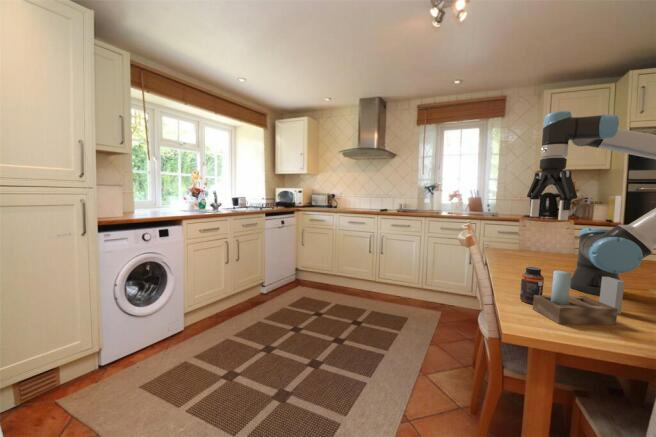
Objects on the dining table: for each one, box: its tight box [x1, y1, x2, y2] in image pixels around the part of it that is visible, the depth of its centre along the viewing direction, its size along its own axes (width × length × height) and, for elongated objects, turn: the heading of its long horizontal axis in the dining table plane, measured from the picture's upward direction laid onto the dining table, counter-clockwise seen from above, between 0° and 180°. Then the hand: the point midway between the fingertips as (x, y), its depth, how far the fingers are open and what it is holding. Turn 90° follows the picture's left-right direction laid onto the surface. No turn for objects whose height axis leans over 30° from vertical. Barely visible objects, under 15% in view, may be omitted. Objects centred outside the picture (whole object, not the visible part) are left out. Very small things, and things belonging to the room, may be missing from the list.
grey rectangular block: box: [598, 277, 625, 315], centre depth 91 cm, size 2×5×10 cm, turn 1°
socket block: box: [532, 294, 618, 326], centre depth 86 cm, size 16×10×4 cm, turn 91°
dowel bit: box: [550, 270, 572, 305], centre depth 86 cm, size 4×4×13 cm
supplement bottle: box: [519, 266, 545, 305], centre depth 97 cm, size 6×6×11 cm
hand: (547, 218), depth 107 cm, fingers open, 13 cm apart
